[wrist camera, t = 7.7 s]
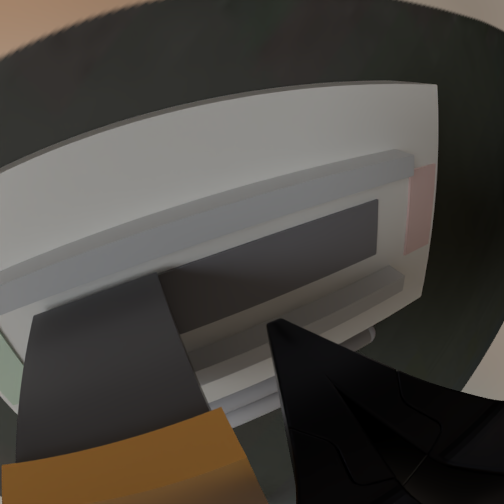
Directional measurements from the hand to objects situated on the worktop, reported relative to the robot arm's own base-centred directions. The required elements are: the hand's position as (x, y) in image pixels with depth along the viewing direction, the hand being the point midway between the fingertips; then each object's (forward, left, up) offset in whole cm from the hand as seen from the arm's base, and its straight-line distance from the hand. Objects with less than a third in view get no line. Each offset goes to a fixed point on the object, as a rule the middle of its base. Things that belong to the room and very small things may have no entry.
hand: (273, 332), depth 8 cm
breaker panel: (0, 0, -6) cm, 6 cm away
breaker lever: (+4, 0, -2) cm, 5 cm away
